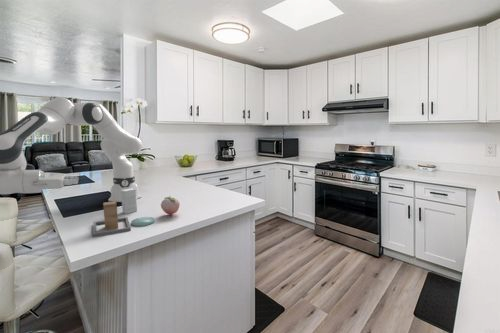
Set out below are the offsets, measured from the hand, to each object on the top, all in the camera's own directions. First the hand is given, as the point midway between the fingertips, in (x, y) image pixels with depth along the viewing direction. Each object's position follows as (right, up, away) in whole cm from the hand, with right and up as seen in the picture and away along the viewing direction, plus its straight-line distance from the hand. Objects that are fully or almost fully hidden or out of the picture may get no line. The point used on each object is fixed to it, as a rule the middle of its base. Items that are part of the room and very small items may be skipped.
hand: (78, 180), depth 108 cm
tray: (+9, -22, +9) cm, 25 cm away
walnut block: (+9, -22, +9) cm, 25 cm away
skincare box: (+7, -19, +31) cm, 37 cm away
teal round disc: (+21, -21, +15) cm, 33 cm away
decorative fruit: (+30, -19, +26) cm, 44 cm away
